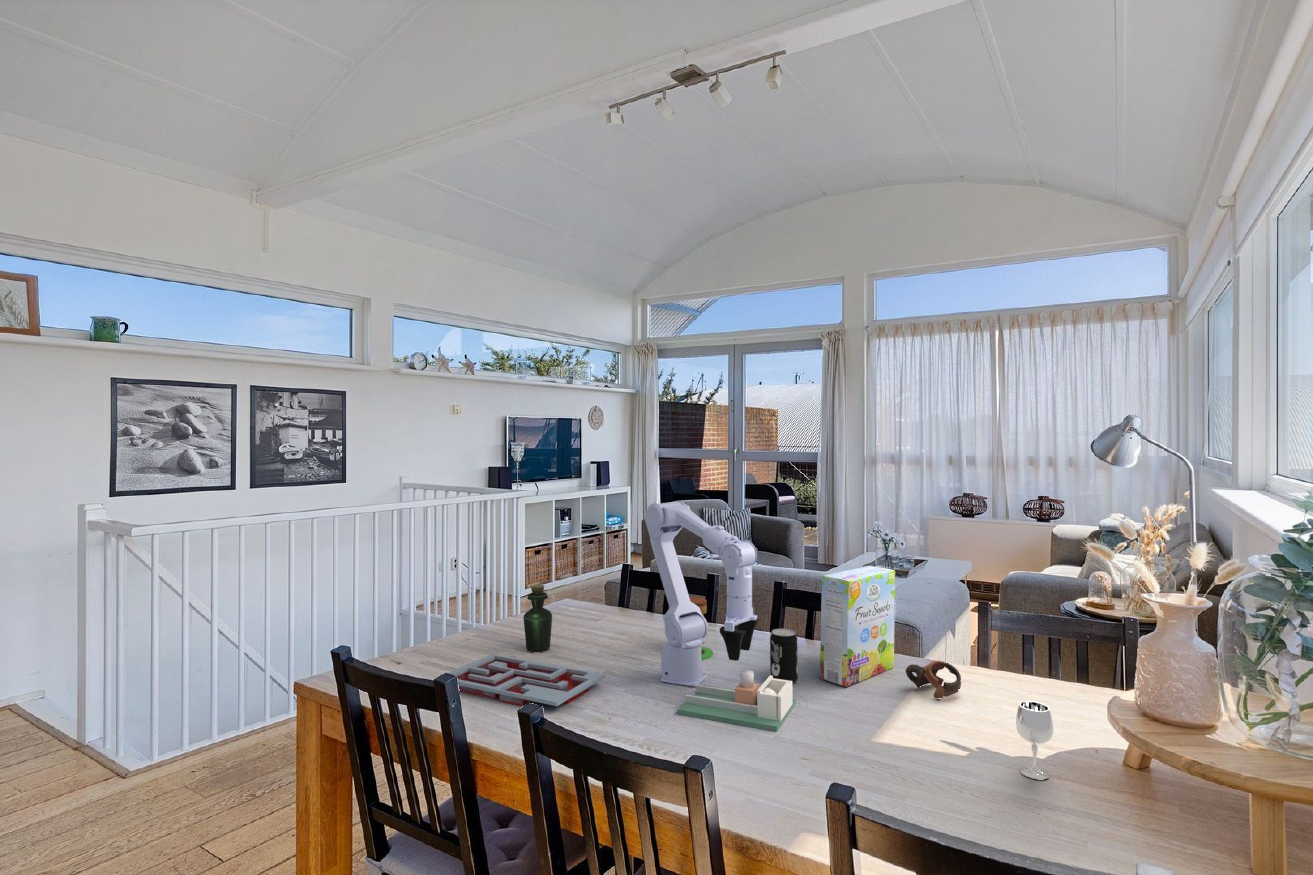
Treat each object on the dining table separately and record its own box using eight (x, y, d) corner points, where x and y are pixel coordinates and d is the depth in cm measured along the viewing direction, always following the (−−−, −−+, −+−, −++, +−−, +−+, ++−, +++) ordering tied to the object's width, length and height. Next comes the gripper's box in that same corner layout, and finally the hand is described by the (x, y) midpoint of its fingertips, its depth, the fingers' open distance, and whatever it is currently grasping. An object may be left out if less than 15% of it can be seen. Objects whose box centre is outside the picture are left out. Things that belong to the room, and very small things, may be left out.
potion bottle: (538, 643, 201) (537, 581, 201) (558, 648, 196) (558, 585, 196) (517, 650, 194) (516, 586, 194) (538, 655, 190) (537, 590, 190)
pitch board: (677, 713, 149) (677, 702, 149) (703, 688, 163) (703, 678, 163) (777, 731, 140) (777, 719, 140) (795, 703, 154) (795, 692, 154)
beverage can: (797, 686, 165) (797, 636, 165) (769, 684, 166) (769, 634, 166) (797, 676, 171) (797, 628, 171) (770, 675, 172) (770, 627, 172)
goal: (757, 716, 145) (757, 690, 145) (770, 700, 154) (770, 675, 154) (780, 720, 142) (780, 693, 142) (792, 703, 152) (792, 678, 151)
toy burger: (723, 650, 192) (723, 597, 192) (702, 663, 182) (701, 606, 182) (687, 644, 199) (686, 592, 199) (664, 656, 188) (663, 601, 188)
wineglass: (1009, 767, 124) (1008, 700, 124) (1039, 765, 124) (1039, 699, 124) (1029, 783, 118) (1028, 713, 118) (1061, 781, 119) (1060, 711, 119)
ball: (767, 688, 146) (778, 707, 145) (773, 681, 150) (783, 700, 149) (750, 696, 148) (761, 715, 147) (756, 689, 152) (767, 708, 151)
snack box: (849, 689, 162) (848, 580, 162) (818, 680, 169) (817, 575, 169) (897, 668, 177) (896, 568, 177) (867, 660, 183) (866, 563, 183)
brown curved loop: (953, 687, 164) (964, 663, 160) (953, 718, 157) (965, 694, 152) (901, 670, 167) (911, 646, 163) (899, 700, 160) (909, 676, 156)
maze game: (437, 690, 165) (437, 677, 165) (492, 665, 183) (492, 653, 183) (556, 717, 149) (556, 702, 149) (604, 687, 166) (604, 674, 166)
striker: (735, 706, 149) (734, 674, 149) (742, 698, 154) (742, 667, 154) (753, 709, 148) (752, 677, 148) (759, 701, 152) (759, 669, 152)
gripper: (746, 604, 148) (746, 667, 148) (765, 590, 161) (765, 647, 161) (715, 600, 151) (715, 662, 151) (736, 587, 164) (736, 643, 165)
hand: (739, 654), depth 157 cm, fingers open, 7 cm apart
